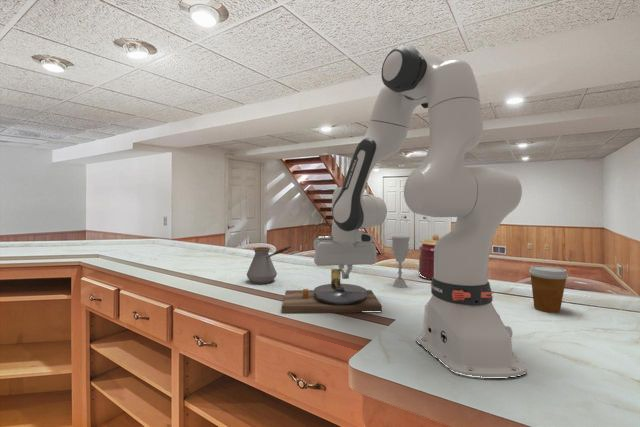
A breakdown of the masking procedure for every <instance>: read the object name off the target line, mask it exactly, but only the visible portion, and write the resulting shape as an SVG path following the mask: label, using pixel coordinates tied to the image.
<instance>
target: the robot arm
mask: <svg viewBox="0 0 640 427" xmlns="http://www.w3.org/2000/svg"><path fill="white" fill-rule="evenodd" d="M381 81H382V83H383V87H382V88H381V89H380V91H379V93H378V95H377V98H376V100H375V103H374V105H373V107H372V108H373V109H372V112H371V115H370V120H369V122H368V127H367V129H366V132H365V134H364V137H363V138H362V140H361V141H360V142H359V143H358V144H357V146H356V148H355V150H354V153H353V156H352V158H351V161H350V164H349V166H348V170H347V173H346V175H345V178H344V182H343V184H342V185H340V186H338V187H336V188H335V189H334V191H333V193H332V198H331V199H332V200H331V216H332V223H331V235H328V236H326V235H325V236H322V235H321V236H318V237H316V238H314V240H313V242H312V243H313V249H314V254H313V255H314V256H313V263H314V264H315V265H316V266H317V267H324V266H329V267H330V266H332V267H333V266H337V267H338V269H340V270H341V279H343V280H349V279H350V273H351V272H352V270H353V266H357V265H361V266H363V265H375V264H376V263H377V261H378V258H377V257H378V255H377V253H378V252H377V248H376V244H375V243H373V242H374V240H375V237H374V235H372V234H371V233H367V232H365V231H363V230H361V229H368V228H373V227H374V228H375V227H377V226H380V225H382V224H383V223H384V221H385V220H386V217H387V213H388V210H387V205H386V203H385V201H384V200H383V199H382V198H381V197H379V196H376V195H373V194H369V193H367V192H365V190H366V186H367V183H368V181H369V178H370V175H371V173H372V170H373V169H374V167H375V166H376V165H377V164H379V163H380V162H381V161H383V160H385V159H386V158H388V157H392V156H394V155H396V154H397V153H398V152H399V151H400V150H402V147H403V145H404V144H405V142H406V139H407V136H408V132H409V131H408V130H409V128H410V124H411V119H412V115H413V113H414V110H415V109H416V108H417V107H418V106H420V105H421V107H422V108H423V109H427V110H428V124H429V125H428V127H429V128H428V129H429V145H428V149H427V153H426V155H425V157H424V159H423V161H422V162H421V164H420V165H419V166H418V167H417V168H416V169H414V170H412V172H411V173H410V174H409V175H408V177H407V179H406V180H405V183H404V185H403V186H404V187H403V197H404V201H405V203H406V205H407V207H408V208H409V211H411V212H412V213H414V214H418V215H422V216H426V217H431V218H456V220H455V223H454V226H453V228H452V229H451V230H450V231H449V232H448V233H446V234H444V235H443V236H442V237H441V236H440V237H439V240H438V241H437V243H436V245H435V247H434V276H433V277H432V280H431V282H430V289H431V291H430V292H431V294H432V296H431V297H430V299H429V300H428V302H427V303H426V304H425V305H424V313H423V323H422V324H423V325H422V334H420V335H417V336H416V339H415V341H416V340H417V341H418V342H419V343H420V344H421V345H422V346H423V347H424V348H426V349H427V350H428V351H429V352H430V353H432V354H433V355H434V356H436V357H437V358H438V359H440V360H441V361H442V362H443V363H444V364H445V365H447V366H448V367H449V368H450V369H451V370H453V371H454V372H458V373H462V374H465V375H472V376H480V377H481V376H482V377H511V376H518V375H522V374H524V373H526V372H527V373H528V371H527V370H528V369H527V367H526V365H525V364H524V363H523V362H522V361H521V360H520V358H518V356H517V355H516V354H515V352H513V344H512V343H513V342H512V338H513V330H512V327H511V326H509V325H505V324H504V322H503V320H502V319H501V316H500V314H499V313H498V311H497V310H496V308H495V307H494V304H493V299H494V297H493V294H494V292H493V291H492V288H491V284H490V282H489V280H488V279H489V262H490V261H489V260H490V252H491V246H492V245H491V244H492V242H493V239H494V236H495V234H496V233H497V232H496V231H497V230H498V228H499V226H500V225H501V223H502V222H503V221H504V219H506V217H507V216H508V215H509V214H511V213H512V212H513V211H514V210H516V208H517V207H518V206H519V204H520V203H521V199H522V196H523V193H522V192H523V189H522V184H521V182H520V179H519V177H518V176H517V175H516V174H514V173H513V172H511V171H507V170H503V169H499V168H495V167H487V166H486V167H481V166H480V167H475V166H473V167H472V166H465V154H466V153H468V152H469V151H471V150H473V149H474V148H476V147H477V146H478V145H479V144H480V142H481V140H482V139H483V136H484V124H483V116H482V108H481V105H482V104H481V100H480V98H481V97H480V93H479V88H478V84H477V80H476V77H475V74H474V71H473V69H472V67H471V65H470V64H469V63H468V62H466V61H464V60H462V59H450V60H446V61H445V60H444V59H441V58H439V57H438V56H436V55H434V54H432V53H430V52H428V51H424V50H420V49H416V48H415V47H413V46H410V45H409V46H408V45H398V46H396V47H394V48H393V49H391V51H389V53H388V54H387V55H386V57H385V59H384V60H383V63H382V68H381ZM345 266H346V268H347V269H346V271H345V270H344V269H345ZM422 346H421V347H422ZM423 347H422V348H423ZM424 348H423V349H424ZM428 351H427V352H428ZM429 352H428V353H429ZM430 353H429V354H430ZM434 356H433V357H434ZM527 373H526V374H527Z"/></svg>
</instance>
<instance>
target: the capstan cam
mask: <svg viewBox="0 0 640 427" xmlns="http://www.w3.org/2000/svg"><path fill="white" fill-rule="evenodd" d="M341 279H342V273H341V270H340V269H339V268H331V269H330V283H326V284H321V285H317V286H315V288H314V289H313V290H314V298H315V299H316V300H317V301H319V302H322V303H326V304H333V305H351V304H357V303H361V302H363V301H365V300H366V299H367V290H368V289H366V288H364V287H363V286H360V285H356V284H351V283H341Z"/></svg>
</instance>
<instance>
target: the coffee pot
mask: <svg viewBox="0 0 640 427" xmlns="http://www.w3.org/2000/svg"><path fill="white" fill-rule="evenodd" d="M290 249H291V251H290ZM270 250H271V247H268V246H267V247H266V246H260V247H253V251H254V255H253V257H252V261H251V263H250V265H249V268H248V271H247V273H246V277H247V279H248V280H249V281H251V283H252V282H253V284H256V283H259V285H261V284H262V285H263V284H264V283H265V284H269V283H271V282H273V281H274V279H275V278H276V277H277V275H278V273H277V271H276V270H277V269H275V266H274V263H273V261H272V258H271V257H273V256H276V255H279V254H282V253H284V252H285V251H288V252H290V253H292V252H293V250H294V249H293V247H291V245H289V246H285V247H284V248H280V249H278V250H276V251H274V252H273V253H271V254H269V252H270Z"/></svg>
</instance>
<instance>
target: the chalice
mask: <svg viewBox="0 0 640 427" xmlns="http://www.w3.org/2000/svg"><path fill="white" fill-rule="evenodd" d="M390 237H391V242H392V244H391V245H392V248H391V250H392V254H393V256H394V258H395V261H396V262H398V267H397V268H398V271H397V274H398V277H397V278H395V280H394V282H393V284H392V286H393V287H394V288H395V287H396V288H406V287H407V284H406V280H405V279H404V278H403V277H402V274H403V272H402V269H403V267H402V263H403V262H405V260H406V258H407V256H408V254H409V250H410V249H409V248H410V247H409V246H410V245H409V242H410V239H411V238H410V237H411V236H406V235H393V236H390Z"/></svg>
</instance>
